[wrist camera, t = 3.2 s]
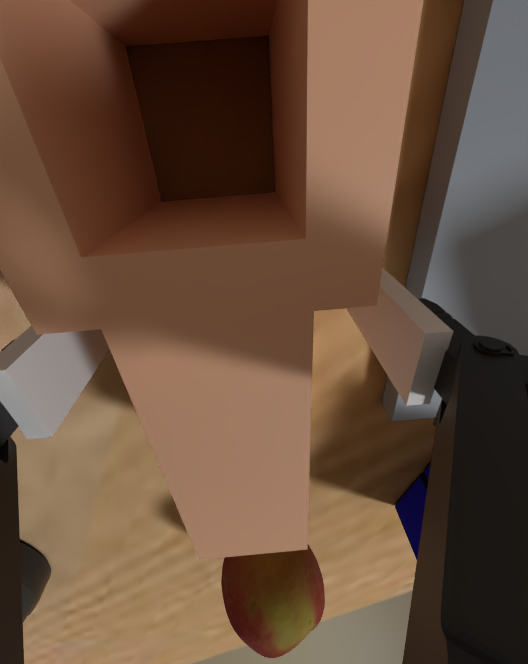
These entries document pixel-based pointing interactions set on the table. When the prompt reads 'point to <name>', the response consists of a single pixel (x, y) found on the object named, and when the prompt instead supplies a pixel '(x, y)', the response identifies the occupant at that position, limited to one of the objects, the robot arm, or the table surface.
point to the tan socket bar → (205, 232)
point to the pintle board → (477, 189)
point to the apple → (273, 598)
